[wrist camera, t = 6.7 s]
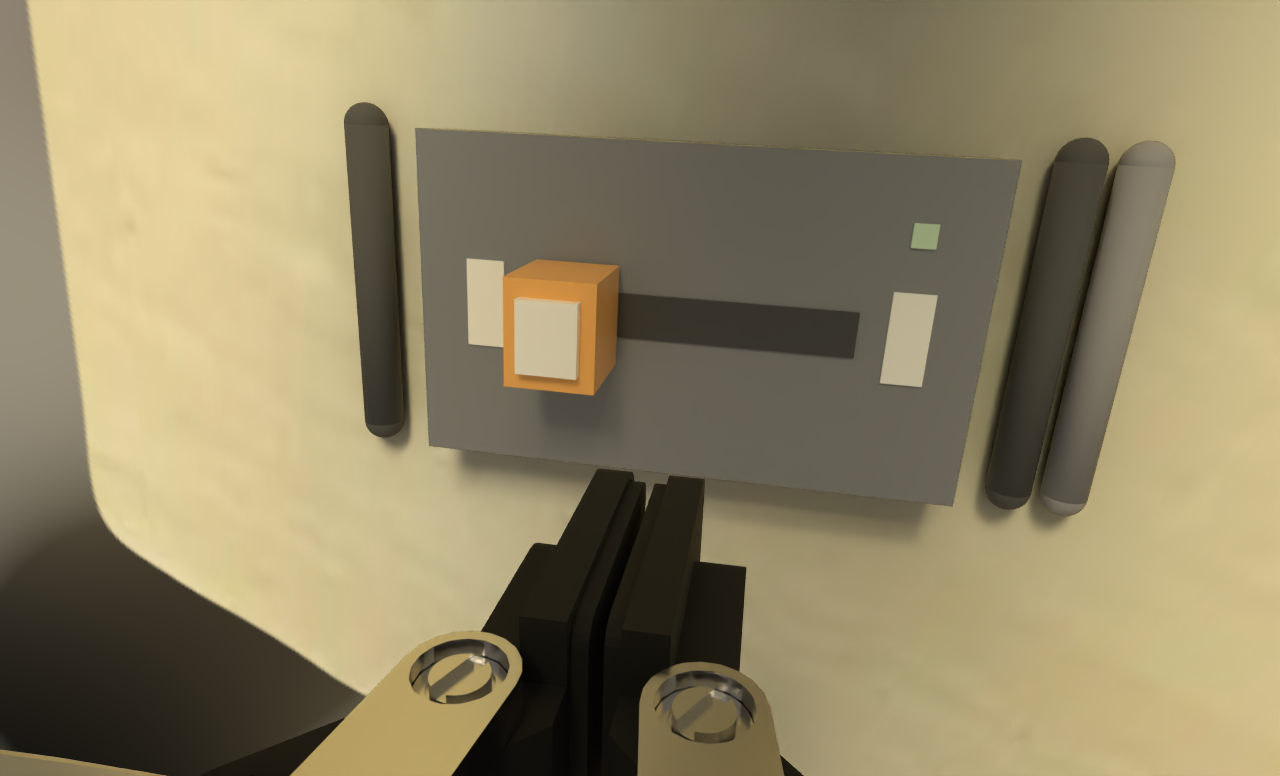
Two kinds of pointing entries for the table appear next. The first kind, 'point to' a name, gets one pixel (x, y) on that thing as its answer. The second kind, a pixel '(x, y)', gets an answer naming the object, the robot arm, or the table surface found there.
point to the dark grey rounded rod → (375, 266)
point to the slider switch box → (722, 304)
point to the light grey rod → (1106, 323)
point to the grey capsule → (1046, 319)
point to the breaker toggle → (560, 325)
